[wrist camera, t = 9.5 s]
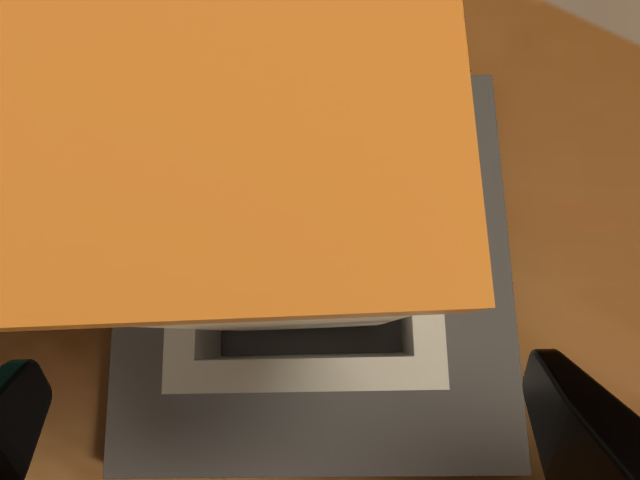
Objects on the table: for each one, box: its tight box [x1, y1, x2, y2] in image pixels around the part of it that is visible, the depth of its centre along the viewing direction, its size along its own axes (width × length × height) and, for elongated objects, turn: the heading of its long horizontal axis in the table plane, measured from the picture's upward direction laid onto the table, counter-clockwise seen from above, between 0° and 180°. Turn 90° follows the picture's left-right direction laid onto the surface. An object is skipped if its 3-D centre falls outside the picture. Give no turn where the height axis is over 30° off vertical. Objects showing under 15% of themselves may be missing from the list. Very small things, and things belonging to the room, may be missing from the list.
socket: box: [103, 75, 532, 479], centre depth 16 cm, size 14×14×4 cm
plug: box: [0, 0, 495, 332], centre depth 11 cm, size 5×5×13 cm
